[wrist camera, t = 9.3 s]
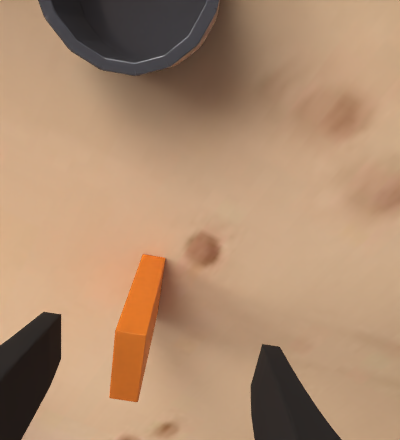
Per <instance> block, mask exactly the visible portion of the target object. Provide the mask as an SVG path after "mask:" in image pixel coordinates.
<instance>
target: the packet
mask: <svg viewBox="0 0 400 440" xmlns="http://www.w3.org/2000/svg"><path fill="white" fill-rule="evenodd" d="M164 265H165V258H163V257H156V256H150V255H144V254H143V256H142V258H141V261H140V264H139V267H138V269H137V272H136V275H135V278H134V280H133V283H132V286H131V289H130V292H129V294H128V297H127V300H126V303H125V305H124V308H123V311H122V314H121V316H120V319H119V322H118V325H117V328H116V330H115V340H114V351H113V363H112V374H111V385H110V396H109V397H110V398H113V399H120V400H126V401H133V402H138V399H139V394H140V390H141V385H142V381H143V376H144V372H145V367H146V363H147V358H148V354H149V349H150V345H151V341H152V336H153V332H154V327H155V323H156V318H157V314H158V307H159V300H160V293H161V286H162V279H163V272H164Z"/></svg>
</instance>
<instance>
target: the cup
mask: <svg viewBox="0 0 400 440" xmlns="http://www.w3.org/2000/svg"><path fill="white" fill-rule="evenodd" d="M38 1H39V4H40V7H41V10H42V13H43V15H44V17H45V19H46V21H47V22H48V23H49V24H50V26H51V27H52V28H53V30H54V31H55V32H56V33H57V35H58V36H59V37H60V39H61V40H62V41H63V42H64V44H65V45H66V46H67V48H68V49H69V50H70V51H71V52H73V53H75V54H76V55H78V56H79V57H81V58H83V59H84V60H86V61H87V62H89V63H91V64H92V65H94V66H95V67H97V68H98V69H100V70H103V71H108V72H114V73H120V74H125V75H131V76H140V75H144V74H148V73H151V72H155V71H159V70H163V69H167V68H170V67H173V66H176V65H178V64H180V63H181V62H182V61H183V60H185V59H186V58H187V57H189V56H190V55H191V54H192V53H194V52H195V51H196V50H197V49H199V48H200V47H201V46H202V44H203V43H204V41H205V39H206V37H207V36H208V34H209V33H210V30H211V28H212V27H213V25H214V23H215V21H216V19H217V17H218V11H219V5H220V0H38Z"/></svg>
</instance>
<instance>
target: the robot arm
mask: <svg viewBox="0 0 400 440" xmlns="http://www.w3.org/2000/svg"><path fill="white" fill-rule="evenodd" d="M60 360H61V314H54V313H48V312H43V313H42V314H40V315H39V316H38V317H36V318H35V319H34V320H33V321H31V322H30V323H29V324H28V325H26V326H25V327H24V328H23V329H21V330H20V331H19V332H17V333H16V334H15V335H14V336H12V337H11V338H10V339H8V340H7V341H6V342H4V343H3V344H2V345H0V440H21V439H22V437H23V435H24V433H25V432H26V430H27V428H28V426H29V424H30V422H31V421H32V419H33V417H34V415H35V413H36V411H37V410H38V408H39V406H40V404H41V402H42V400H43V398H44V397H45V395H46V393H47V391H48V389H49V387H50V385H51V383H52V380H53V378H54V375H55V373H56V370H57V368H58V365H59V362H60ZM251 415H252V423H253V430H254V438H255V440H341V438H340V437H339V436H338V435H337V434H336V432H335V431H334V430H333V429H332V427H331V426H330V425H329V423H328V422H327V421H326V419H325V418H324V416H323V415H322V414H321V412H320V411H319V410H318V408H317V407H316V405H315V404H314V402H313V401H312V399H311V398H310V396H309V395H308V393H307V392H306V390H305V389H304V387H303V385H302V384H301V382H300V381H299V379H298V377H297V376H296V374H295V372H294V371H293V369H292V367H291V366H290V364H289V362H288V360H287V359H286V357H285V355H284V353H283V352H282V350H281V348H280V347H278V346H271V345H264V344H262V348H261V351H260V355H259V358H258V362H257V365H256V369H255V373H254V376H253V380H252V383H251Z"/></svg>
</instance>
